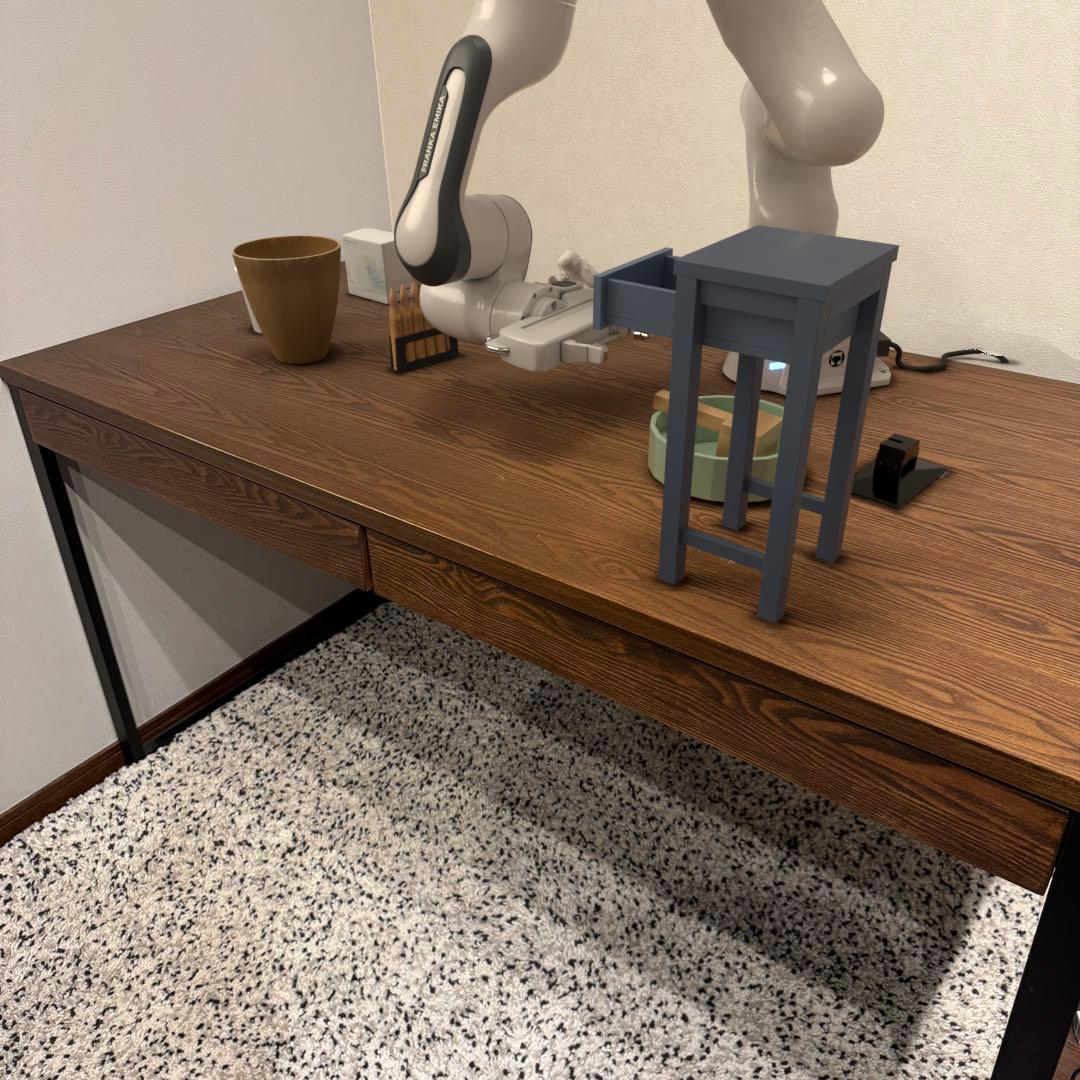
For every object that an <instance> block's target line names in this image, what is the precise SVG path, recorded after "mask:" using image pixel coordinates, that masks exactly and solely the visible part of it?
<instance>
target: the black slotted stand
mask: <svg viewBox="0 0 1080 1080" xmlns="http://www.w3.org/2000/svg"><path fill="white" fill-rule="evenodd" d="M920 443H921V440H920V439H916V438H914V437H909V436H907V435H902V434H899V433H896V432H895V433H893V434H891V435H890V436H889V437H888V438H886V439H884V440H883V441H882V442H879V445H878V451H877V452H876V457H875V459H873V460H871V461H870V462H869V463H868V464H866V465H865V466H863V467H862V468H861V469H859V470H858V471H855V475H854V481H853V486H852V492H851V496H854V497H857V498H860V499H863V500H866V501H869V502H872V503H874V504H878V505H880V506H883V507H886V508H889V509H893V510H895V511H898V510H901V509H902V508H903V507H904V506H906V505H907V504H908V503H909V502H910V501H912V500H913V499H914V498H916V496H918V495H919V494H921V492H923V491H924V490H925V489H926V488H927V487H929V486H930V485H931V484H933V483H934V482H935V481H936V480H937V479H941V478H943V477H944V476H945V475H947V474H948V471H947V470H948V467H946V466H943V465H941V464H938V463H934V462H930V461H928V460H923V459H920V458H918V457H919V453H920Z"/></svg>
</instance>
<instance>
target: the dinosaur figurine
mask: <svg viewBox="0 0 1080 1080" xmlns="http://www.w3.org/2000/svg"><path fill="white" fill-rule="evenodd" d="M556 262H557V268H558V270H559V273H558V274H559V276H558V278H557V277H556V276H555V274H551V275H549V277H548V278H547V281H546V283H553V282H561V281H568V280H575V281H580V282H582V283H583V288H594V275H597V274H599V272H598V271H597V270H596V269H595V266H593V265H592V264H590V263H589V262H588V260H586V259H584V258H582V257H580V255H579V254H578V253H577V252H576V251H575V250H572V249H567V250H565V252H563V253H562V254H561V255H560V256H559V258H558V259H557V261H556Z"/></svg>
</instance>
